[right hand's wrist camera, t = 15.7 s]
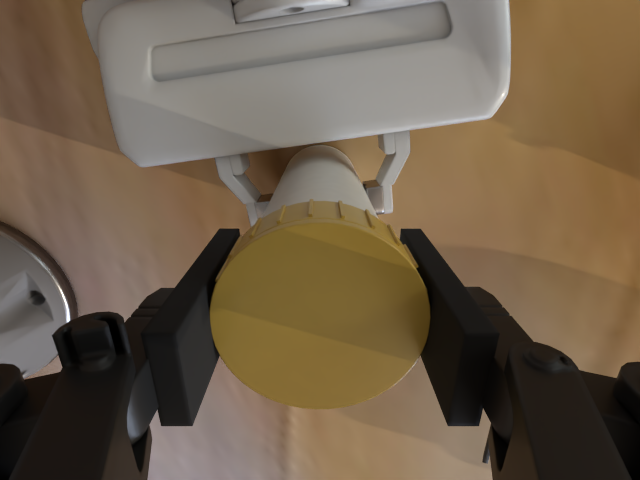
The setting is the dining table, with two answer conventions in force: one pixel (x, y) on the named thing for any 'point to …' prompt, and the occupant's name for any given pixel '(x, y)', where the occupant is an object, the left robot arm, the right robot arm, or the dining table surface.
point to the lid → (319, 306)
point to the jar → (319, 180)
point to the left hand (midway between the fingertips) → (322, 219)
